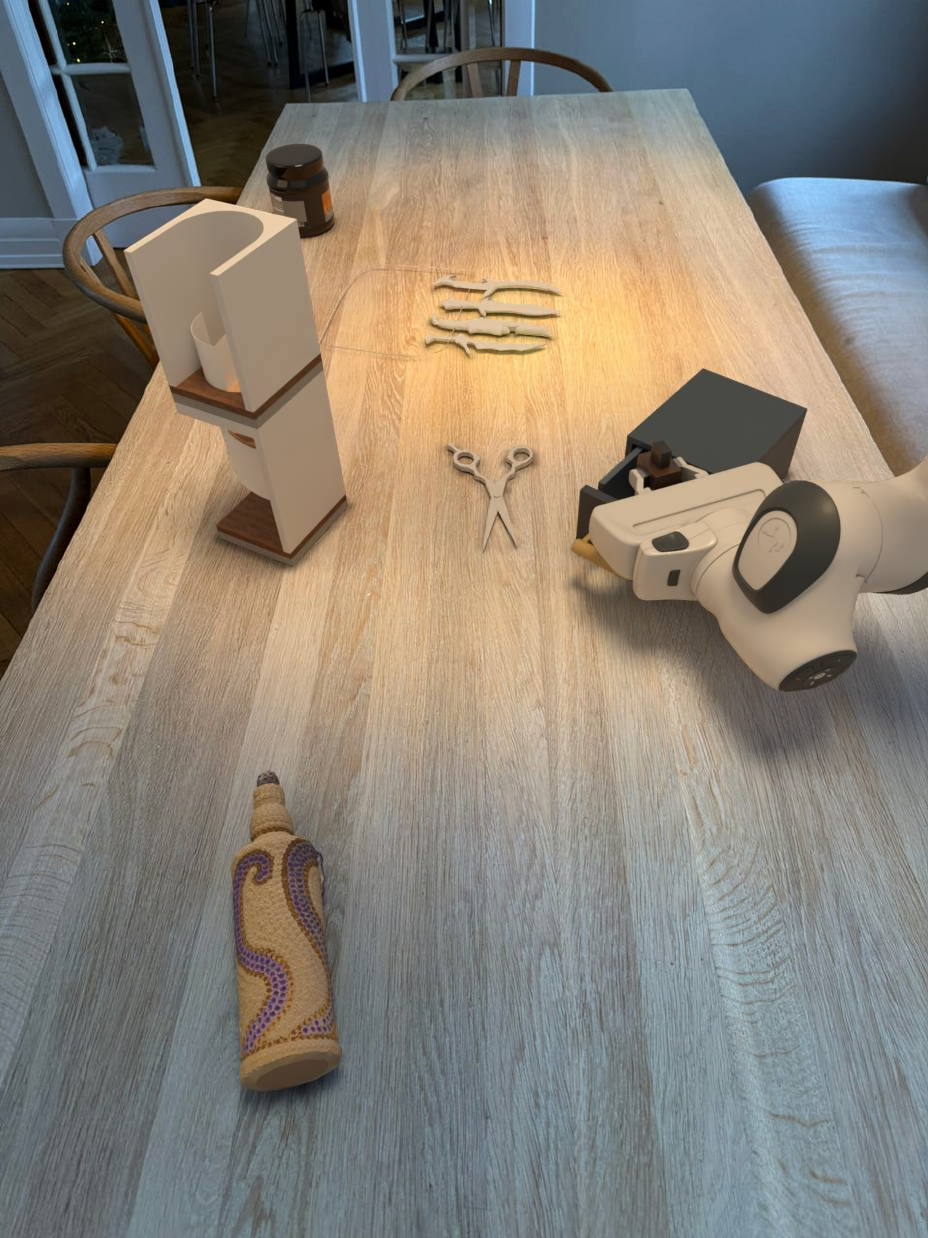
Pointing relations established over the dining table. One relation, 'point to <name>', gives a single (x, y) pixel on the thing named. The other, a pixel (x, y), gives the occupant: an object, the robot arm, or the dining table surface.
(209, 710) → the dining table surface
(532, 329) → the driftwood wall hanging
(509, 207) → the dining table surface
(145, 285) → the slotted cup holder tower
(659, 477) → the small brown bottle
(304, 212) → the supplement container
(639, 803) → the dining table surface
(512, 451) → the scissors
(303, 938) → the decorative bottle
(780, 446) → the cabinet
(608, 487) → the drawer
